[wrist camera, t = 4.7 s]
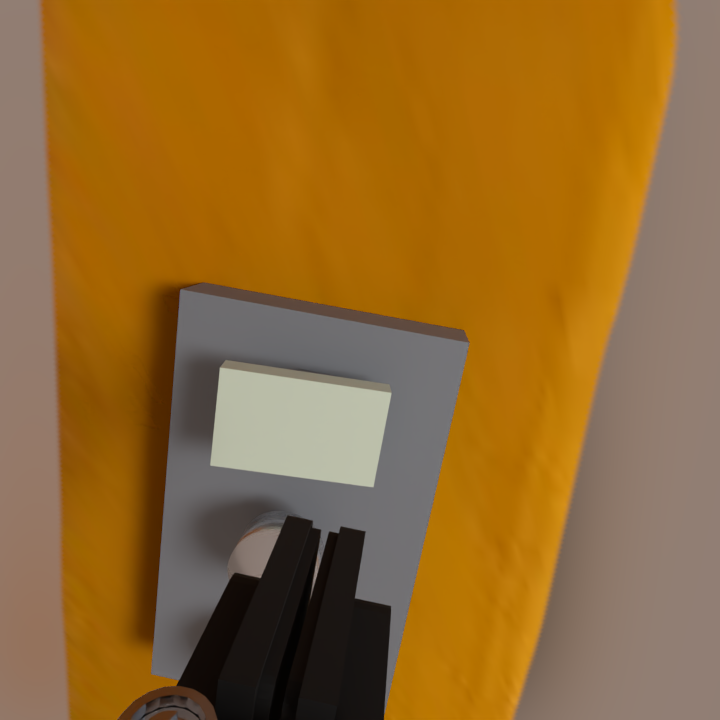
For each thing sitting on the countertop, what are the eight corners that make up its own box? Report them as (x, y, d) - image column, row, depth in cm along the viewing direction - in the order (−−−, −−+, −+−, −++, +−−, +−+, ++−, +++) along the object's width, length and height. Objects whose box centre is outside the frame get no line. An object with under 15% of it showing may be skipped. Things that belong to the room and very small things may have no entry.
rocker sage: (225, 360, 20) (219, 367, 19) (389, 384, 21) (391, 392, 20) (216, 453, 21) (210, 465, 20) (372, 474, 22) (373, 487, 21)
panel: (203, 282, 24) (169, 292, 21) (464, 330, 24) (472, 348, 20) (172, 636, 30) (141, 690, 26) (384, 684, 29) (380, 745, 26)
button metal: (246, 503, 22) (232, 526, 21) (330, 520, 22) (322, 545, 20) (237, 575, 23) (223, 603, 22) (317, 592, 23) (309, 622, 21)
